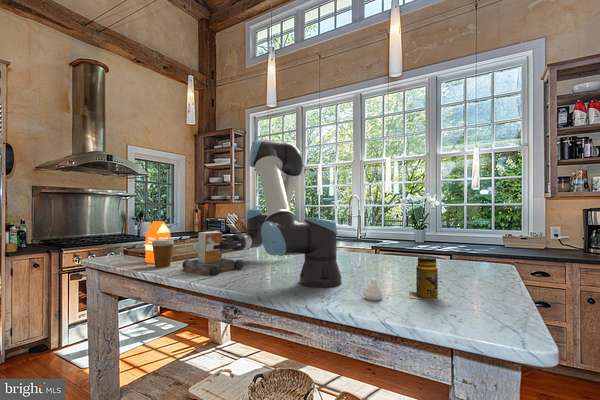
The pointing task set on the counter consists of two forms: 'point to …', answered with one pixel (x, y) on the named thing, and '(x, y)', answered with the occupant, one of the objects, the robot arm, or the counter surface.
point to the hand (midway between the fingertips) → (200, 247)
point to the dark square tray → (212, 266)
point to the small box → (204, 240)
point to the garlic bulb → (373, 290)
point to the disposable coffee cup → (162, 252)
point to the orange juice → (155, 238)
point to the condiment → (426, 279)
